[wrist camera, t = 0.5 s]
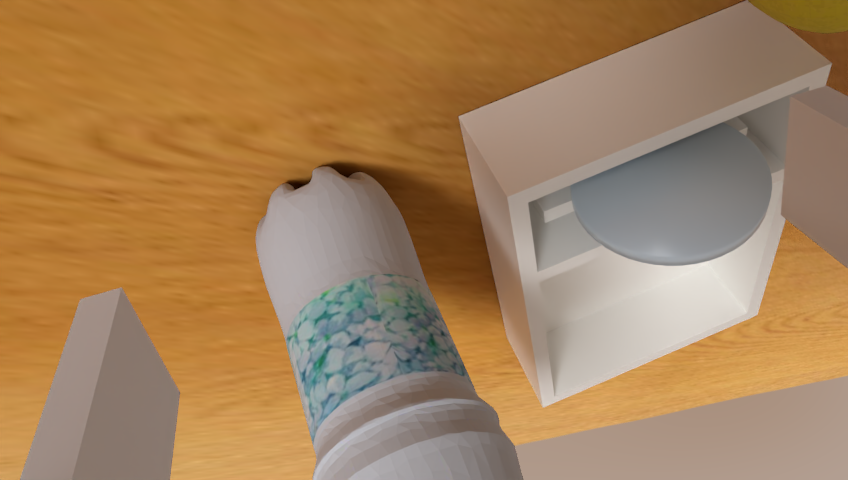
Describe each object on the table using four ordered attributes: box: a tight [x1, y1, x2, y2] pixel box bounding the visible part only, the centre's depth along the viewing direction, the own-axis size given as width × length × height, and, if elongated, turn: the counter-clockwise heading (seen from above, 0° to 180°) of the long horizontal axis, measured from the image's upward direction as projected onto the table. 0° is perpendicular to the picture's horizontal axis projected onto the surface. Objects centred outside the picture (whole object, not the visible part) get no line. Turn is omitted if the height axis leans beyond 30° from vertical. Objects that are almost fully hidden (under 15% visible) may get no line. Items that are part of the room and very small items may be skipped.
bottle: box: [256, 166, 523, 480], centre depth 26 cm, size 7×7×20 cm
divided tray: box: [458, 0, 832, 408], centre depth 36 cm, size 19×14×9 cm
